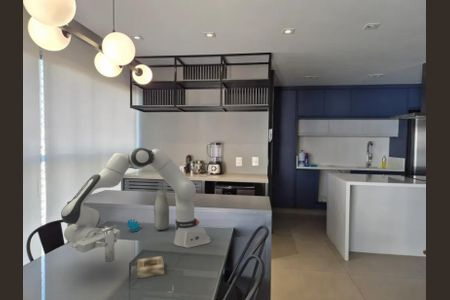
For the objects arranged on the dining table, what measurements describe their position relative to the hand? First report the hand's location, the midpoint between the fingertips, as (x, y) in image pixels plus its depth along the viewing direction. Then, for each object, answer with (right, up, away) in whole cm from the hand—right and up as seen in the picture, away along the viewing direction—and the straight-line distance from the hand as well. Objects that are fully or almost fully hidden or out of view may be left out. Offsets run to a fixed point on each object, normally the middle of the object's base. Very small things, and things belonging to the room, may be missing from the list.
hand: (110, 242), depth 118 cm
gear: (-12, -14, +63) cm, 66 cm away
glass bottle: (+7, -14, +65) cm, 67 cm away
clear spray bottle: (-1, -8, +1) cm, 8 cm away
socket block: (+16, -16, +8) cm, 24 cm away
